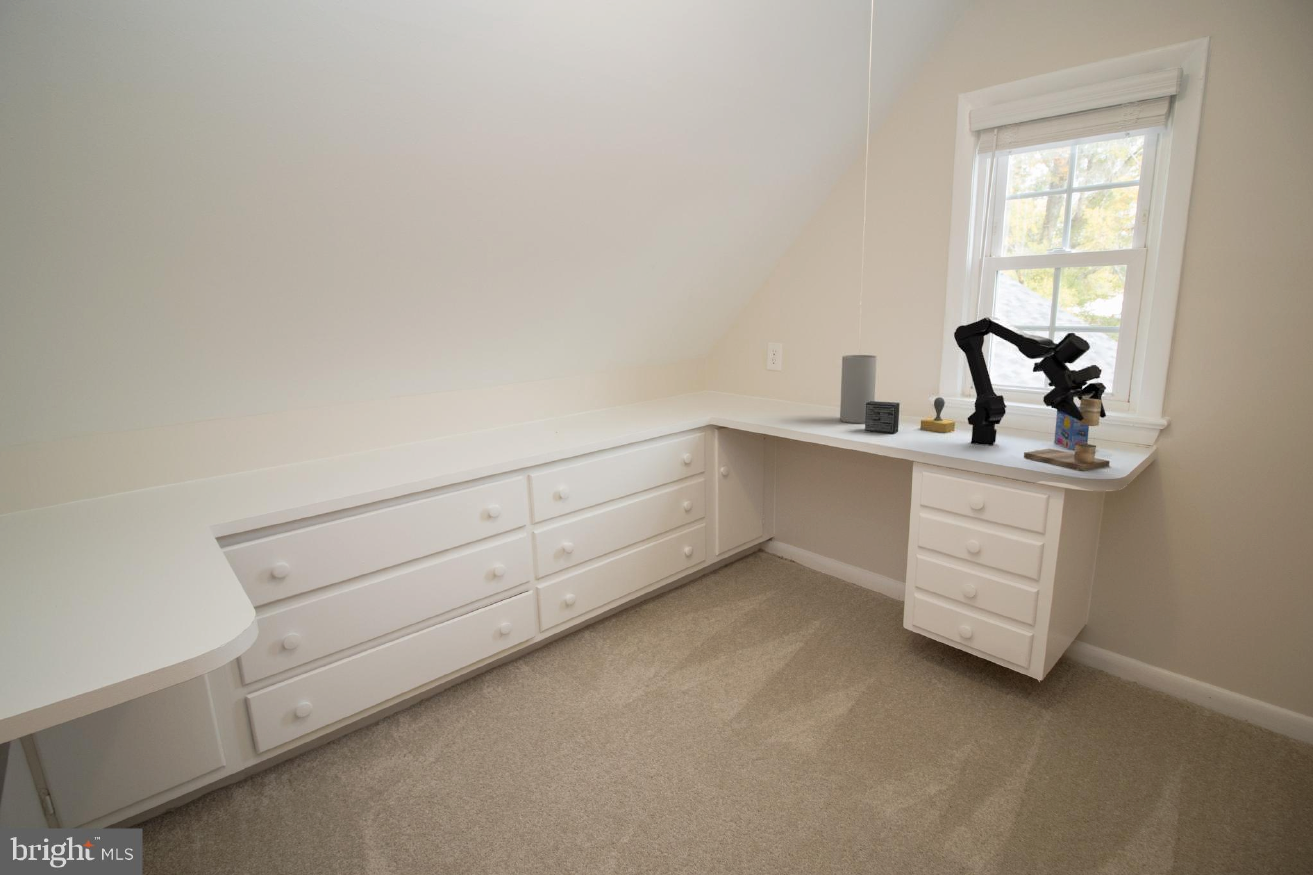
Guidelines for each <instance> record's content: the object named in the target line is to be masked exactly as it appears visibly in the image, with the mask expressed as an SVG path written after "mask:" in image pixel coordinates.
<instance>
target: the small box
mask: <svg viewBox="0 0 1313 875" xmlns="http://www.w3.org/2000/svg"><path fill="white" fill-rule="evenodd" d="M899 418H900V402H894V401H891V402H890V401H870V402H867V403H866V418H865V423H864V424H865V425H864V432H865V431H870V432H869V433H878V434H890V433H891V434H893V435H894V434H896V433H898V432H899V425H900V424H899V422H900V420H899Z"/></svg>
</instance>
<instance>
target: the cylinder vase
mask: <svg viewBox="0 0 1313 875" xmlns="http://www.w3.org/2000/svg"><path fill="white" fill-rule="evenodd" d="M877 360H878V358H877V356H876V355H870V354H869V355H868V354H850V355H849V354H848V355H842V357H841V380H840V382H841V383H840V385H841V386H840V409H839V410H840V412H839V419H840V421H842V422H843V423H847V424H857V425H858V424H865V418H866V403H867V402H870V401H875V400H876V399H875V396H876V382H877V381H876V377H877V376H876V375H877Z"/></svg>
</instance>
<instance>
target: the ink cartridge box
mask: <svg viewBox="0 0 1313 875" xmlns="http://www.w3.org/2000/svg"><path fill="white" fill-rule="evenodd" d="M1077 407H1078V409H1079V411H1080V406H1077ZM1054 430H1055V431H1054V444H1056V445H1059V446H1061V447H1063V448H1066V449H1067V450H1075V446H1076V445H1075V444H1077V443H1085V444H1089V443H1088V442H1089V433H1090V432H1089V431H1090V426H1088V425H1082V424H1078V420H1077V419H1075V418H1073V417H1071V416H1069V415H1067V414H1065V413H1063V412H1061V411H1059V410H1057V409H1056V420H1055V429H1054Z"/></svg>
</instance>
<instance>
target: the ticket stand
mask: <svg viewBox="0 0 1313 875" xmlns="http://www.w3.org/2000/svg"><path fill="white" fill-rule="evenodd" d="M1075 445H1076V446H1075V449H1074V452H1069V451H1064V450H1059V449H1058V450H1057V449H1054V448H1050V447H1049V448H1044V449H1037V450H1032V451H1025V452H1024V453H1023V458H1024V459H1028V460H1033V461H1038V462H1042V463H1047V464H1050V465H1055V466H1060V467H1064V468H1067V467H1068V469H1072V470H1076V469H1078V470H1077V471H1080V470H1086V471H1091V470H1096V469H1100V468H1101V467H1102V468H1106V467H1110V462H1111V461H1110V460H1108V459H1107V460H1106V459H1104V458H1103V459H1102V458H1097V457H1095V456H1096V451H1097V445H1095V444H1089V443H1088V444H1085V443H1077V444H1075ZM1090 469H1091V470H1090Z"/></svg>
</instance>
